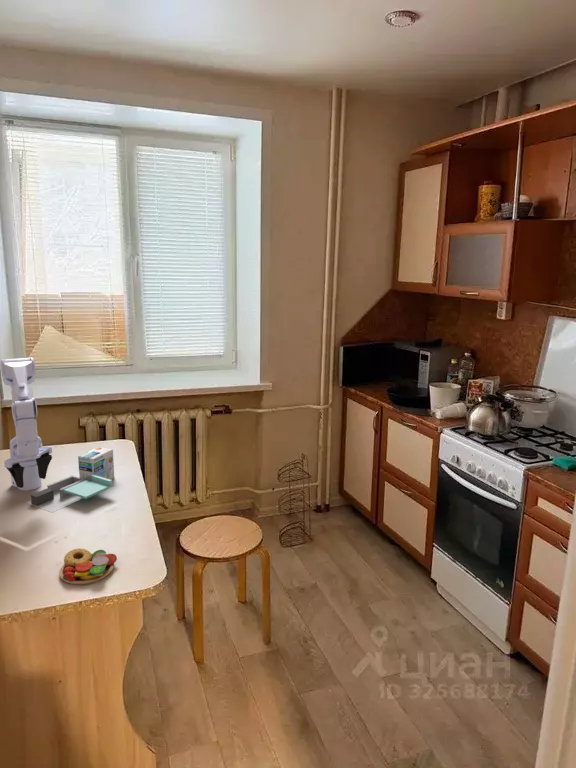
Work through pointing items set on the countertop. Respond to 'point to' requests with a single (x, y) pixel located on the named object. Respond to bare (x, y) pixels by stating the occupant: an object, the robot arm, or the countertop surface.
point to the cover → (90, 486)
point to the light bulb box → (97, 463)
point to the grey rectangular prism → (42, 497)
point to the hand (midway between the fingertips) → (31, 482)
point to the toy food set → (86, 566)
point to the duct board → (60, 494)
